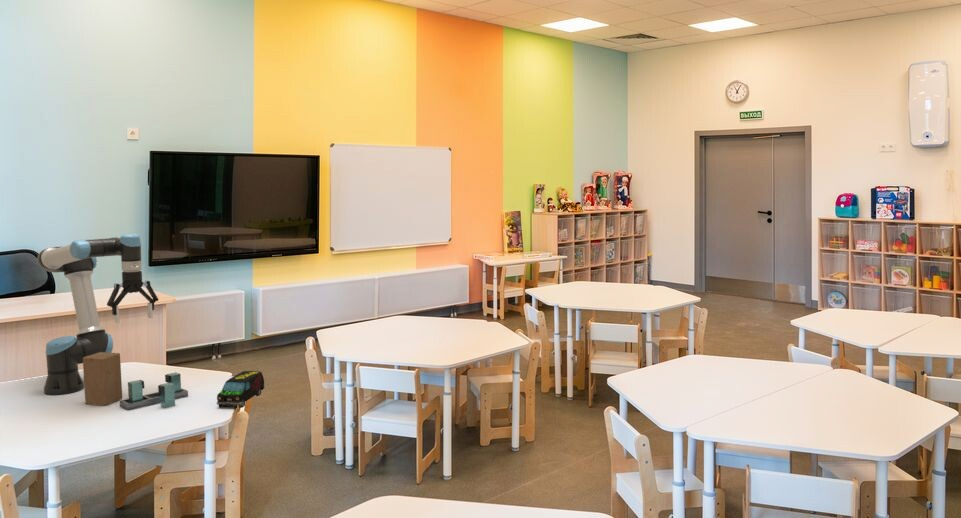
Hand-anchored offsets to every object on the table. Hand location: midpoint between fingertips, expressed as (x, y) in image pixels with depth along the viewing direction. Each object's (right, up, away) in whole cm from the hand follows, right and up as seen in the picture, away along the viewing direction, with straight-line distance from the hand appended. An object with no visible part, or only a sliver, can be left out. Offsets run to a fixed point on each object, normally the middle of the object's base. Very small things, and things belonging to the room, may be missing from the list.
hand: (134, 320), depth 292 cm
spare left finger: (+19, -35, -9) cm, 40 cm away
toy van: (+46, -34, -1) cm, 58 cm away
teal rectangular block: (+5, -34, -9) cm, 35 cm away
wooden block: (-11, -34, -3) cm, 36 cm away
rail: (+10, -34, -3) cm, 36 cm away
